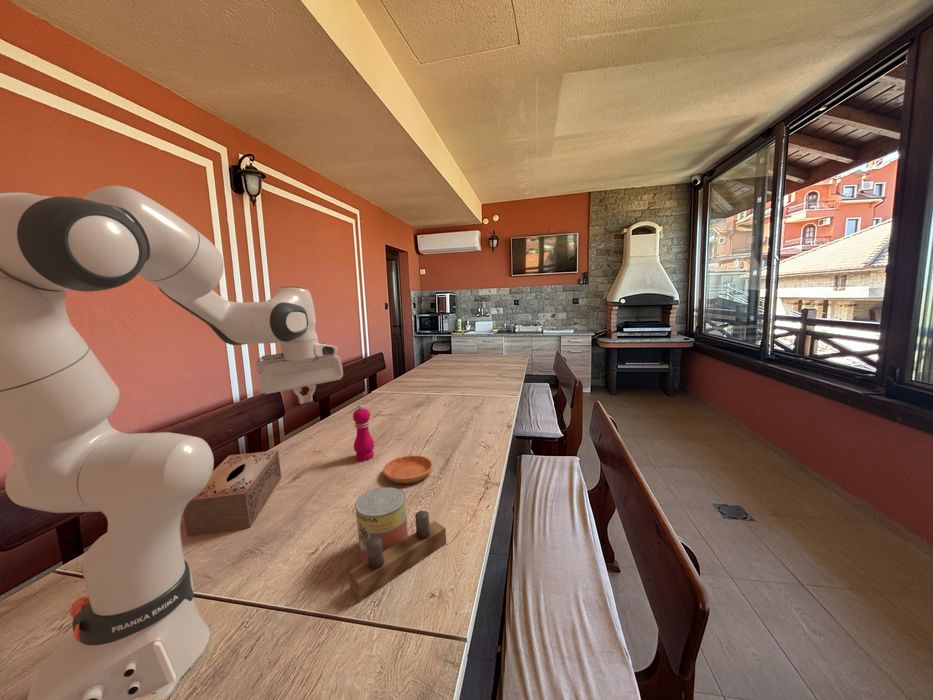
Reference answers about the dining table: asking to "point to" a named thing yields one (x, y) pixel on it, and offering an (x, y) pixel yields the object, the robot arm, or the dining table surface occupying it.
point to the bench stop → (396, 556)
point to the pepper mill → (363, 435)
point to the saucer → (408, 469)
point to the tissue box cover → (233, 494)
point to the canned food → (381, 518)
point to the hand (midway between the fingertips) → (306, 402)
